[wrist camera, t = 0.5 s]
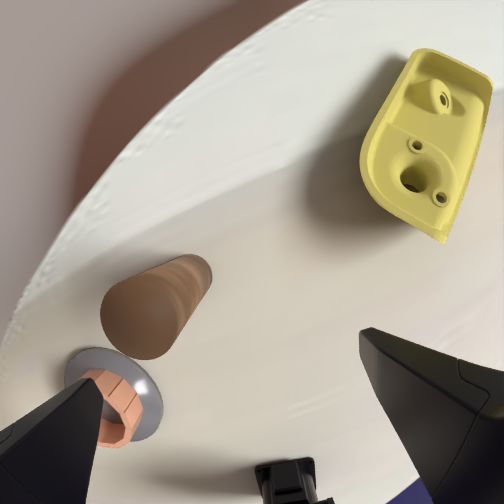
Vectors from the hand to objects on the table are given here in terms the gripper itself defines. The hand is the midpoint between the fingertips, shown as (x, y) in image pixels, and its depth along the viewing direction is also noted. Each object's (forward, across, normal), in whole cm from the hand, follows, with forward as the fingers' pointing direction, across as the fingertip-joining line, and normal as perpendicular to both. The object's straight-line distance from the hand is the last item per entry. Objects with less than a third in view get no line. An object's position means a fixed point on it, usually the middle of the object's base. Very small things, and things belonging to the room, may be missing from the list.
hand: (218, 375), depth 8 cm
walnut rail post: (+16, +4, +2) cm, 16 cm away
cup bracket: (+14, +15, +12) cm, 24 cm away
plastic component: (+18, -20, -6) cm, 27 cm away
